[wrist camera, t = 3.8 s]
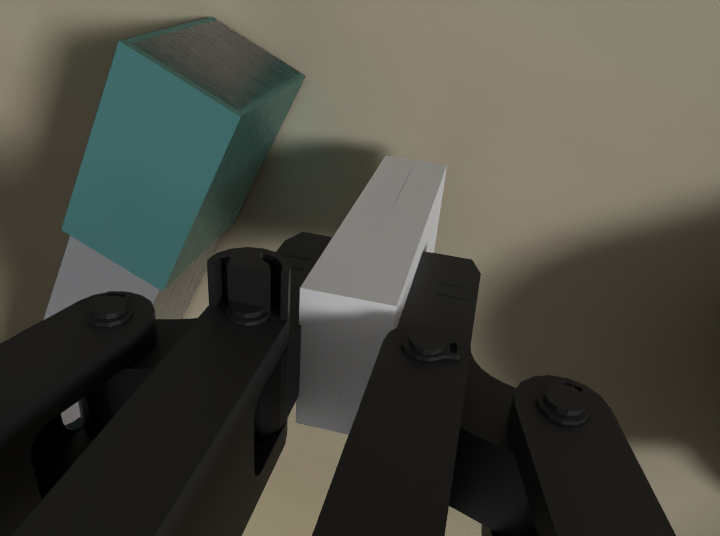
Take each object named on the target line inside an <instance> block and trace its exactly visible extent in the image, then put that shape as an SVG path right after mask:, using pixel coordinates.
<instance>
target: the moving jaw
mask: <svg viewBox="0 0 720 536" xmlns="http://www.w3.org/2000/svg"><path fill="white" fill-rule="evenodd" d="M304 78H305V75H303V74H302V73H300V72H298V71H297V70H295V69H294V68H292V67H291V66H289V65H287V64H286V63H284V62H283V61H281V60H280V59H278V58H276V57H275V56H273V55H272V54H270V53H269V52H267V51H265V50H264V49H262V48H261V47H259V46H257V45H256V44H254V43H253V42H251V41H250V40H248V39H246V38H245V37H243V36H242V35H240V34H239V33H237V32H235V31H234V30H232V29H231V28H229V27H228V26H226V25H224V24H223V23H221V22H220V21H218V20H216V19H215V18H213V17H209V18H205V19H201V20H197V21H193V22H189V23H185V24H182V25H178V26H174V27H170V28H166V29H162V30H158V31H154V32H151V33H147V34H143V35H139V36H135V37H131V38H127V39H123V40H120V41H119V42H118V45H117V48H116V52H115V55H114V58H113V62H112V65H111V68H110V71H109V75H108V78H107V81H106V85H105V88H104V91H103V94H102V98H101V101H100V104H99V107H98V111H97V114H96V117H95V121H94V124H93V127H92V130H91V134H90V137H89V140H88V144H87V147H86V150H85V153H84V157H83V160H82V163H81V167H80V170H79V173H78V176H77V180H76V183H75V186H74V189H73V193H72V196H71V199H70V203H69V206H68V209H67V212H66V216H65V219H64V222H63V226H62V229H61V230H62V231H63V232H65V233H67V234H68V235H70V238H69V241H68V244H67V247H66V250H65V253H64V257H63V260H62V263H61V266H60V269H59V272H58V275H57V279H56V282H55V285H54V288H53V291H52V294H51V298H50V301H49V304H48V307H47V310H46V313H45V317H44V320H45V319H47V318H48V317H50V316H52V315H54V314H56V313H57V312H59V311H61V310H63V309H65V308H67V307H68V306H70V305H72V304H74V303H76V302H77V301H79V300H82V299H84V298H87V297H89V296H92V295H95V294H100V293H106V292H109V291H117V292H119V291H124V292H131V293H135V294H140V295H142V296H144V297H145V298H147V299H149V300H150V301H151V302H152V304H153V307H154V309H155V317H156V319H182V317H183V315H184V313H185V311H186V308H187V306H188V304H189V302H190V300H191V298H192V296H193V294H194V292H195V290H196V288H197V286H198V284H199V282H200V280H201V278H202V275H203V273H204V271H205V269H206V267H207V259H209V258H210V257H212V255H213V253H214V251H215V249H216V247H217V245H218V242H219V240H220V238H221V236H222V234H223V233H224V232H225V231H226V230H227V229H228V228H229V227H230V226H231V225H232V224H233V223H234V221H235V219H236V217H237V215H238V213H239V211H240V209H241V207H242V205H243V203H244V201H245V199H246V197H247V195H248V193H249V191H250V188H251V186H252V184H253V182H254V180H255V178H256V176H257V174H258V172H259V170H260V168H261V166H262V164H263V162H264V160H265V158H266V156H267V154H268V152H269V150H270V148H271V146H272V144H273V142H274V140H275V138H276V136H277V133H278V131H279V129H280V127H281V125H282V123H283V121H284V119H285V117H286V115H287V113H288V111H289V109H290V107H291V105H292V103H293V101H294V99H295V97H296V95H297V93H298V91H299V89H300V87H301V85H302V83H303V80H304ZM61 416H62V420H63V423H64V425H67V424H69V423H71V422H73V421H75V420H76V419H78V418H79V417H80V416H81V415H80V409H79V404H78V402H76V403H75V404H74V405H72V406H71V407H69V408H68V409H67V410H65V411H64V412H62V413H61Z"/></svg>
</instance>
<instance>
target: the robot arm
mask: <svg viewBox="0 0 720 536" xmlns="http://www.w3.org/2000/svg"><path fill="white" fill-rule="evenodd" d="M446 169H447V165H444V164H437V163H431V162H424V161H417V160H411V159H404V158H397V157H391V156H385V157H384V159H383V161H382V162H381V164H380V165H379V167H378V168H377V170H376V171H375V173H374V174H373V176H372V178H371V179H370V181H369V182H368V184H367V185H366V187H365V188H364V190H363V191H362V193H361V194H360V196H359V198H358V199H357V201H356V202H355V204H354V205H353V207H352V208H351V210H350V211H349V213H348V215H347V216H346V218H345V219H344V221H343V222H342V224H341V225H340V227H339V228H338V230H337V232H336V233H335V235H334V236H333V237H329V236H324V235H318V234H312V233H306V232H302V233H300V234H297V235H295V236H293V237H291V238H289V239H287V240H285V241H284V243H283V244H282V245H281V246H280V248H279V249H278V250H277V251H276V252H273V251H270V250H266V249H263V248H251V247H244V248H234V249H229V250H225V251H222V252H219V253H216V254H215V255H213V256H212V257H210V258H209V259H207V272H208V292H209V306H208V307H207V308H206V309H205V310H204V312H203V313H202V314H201V315H200V316H199V317H198V318H194V319H156V317H155V309H154V307H153V304H152V302H151V301H150V300H149V299H147V298H145V297H144V296H142V295H140V294H135V293H131V292H124V291H119V292H117V291H109V292H106V293H100V294H95V295H92V296H89V297H87V298H84V299H82V300H79V301H77V302H76V303H74V304H72V305H70V306H68V307H67V308H65V309H63V310H61V311H59V312H57V313H56V314H54V315H52V316H50V317H48V318H47V319H45V320H43V321H41V322H39V323H37V324H36V325H34V326H32V327H30V328H28V329H27V330H25V331H23V332H21V333H19V334H17V335H16V336H14V337H12V338H10V339H8V340H7V341H5V342H3V343H1V344H0V536H242V534H243V532H244V530H245V528H246V525H247V523H248V521H249V519H250V517H251V515H252V513H253V511H254V509H255V506H256V504H257V502H258V500H259V498H260V496H261V494H262V492H263V490H264V488H265V485H266V483H267V481H268V479H269V477H270V475H271V473H272V471H273V469H274V466H275V464H276V462H277V460H278V458H279V456H280V454H281V452H282V450H283V447H284V445H285V442H286V437H287V418H288V416H289V414H290V412H291V410H292V408H293V406H294V404H295V402H296V423H301V424H305V425H309V426H314V427H318V428H322V429H327V430H331V431H335V432H340V433H344V434H348V435H349V436H348V438H347V441H346V444H345V447H344V449H343V452H342V455H341V457H340V460H339V463H338V466H337V468H336V471H335V474H334V477H333V479H332V482H331V485H330V488H329V490H328V493H327V496H326V499H325V501H324V504H323V507H322V510H321V512H320V515H319V518H318V521H317V523H316V526H315V529H314V531H313V534H312V536H444V535H445V528H446V521H447V514H448V507H449V506H450V507H452V508H454V509H456V510H458V511H460V512H461V513H463V514H465V515H467V516H469V517H470V518H472V519H474V520H476V521H478V522H479V523H481V524H482V536H676V535H675V533H674V531H673V529H672V527H671V525H670V523H669V521H668V519H667V517H666V515H665V513H664V511H663V509H662V507H661V506H660V504H659V502H658V500H657V498H656V496H655V494H654V492H653V490H652V488H651V486H650V484H649V482H648V480H647V478H646V476H645V474H644V472H643V470H642V469H641V467H640V465H639V463H638V461H637V459H636V457H635V455H634V453H633V451H632V449H631V447H630V445H629V443H628V441H627V439H626V437H625V435H624V433H623V432H622V430H621V428H620V426H619V424H618V422H617V420H616V418H615V416H614V414H613V412H612V410H611V409H610V407H609V406H608V405H607V403H606V402H605V401H604V400H603V398H602V397H601V396H600V395H598V394H597V393H595V392H594V391H593V390H591V389H590V388H588V387H587V386H585V385H583V384H580V383H578V382H575V381H573V380H571V379H568V378H563V377H557V376H551V375H547V376H534V377H531V378H529V379H527V380H525V381H522V382H521V383H520V384H519V386H518V387H517V388H514V387H512V386H510V385H508V384H505V383H503V382H501V381H499V380H497V379H496V378H494V377H492V376H490V375H489V374H488V373H486V372H485V371H484V370H482V369H481V368H480V366H479V365H478V364H477V363H476V362H475V360H474V358H473V356H472V354H471V346H470V344H471V337H472V330H473V324H474V317H475V310H476V303H477V296H478V289H479V282H480V275H481V274H480V272H479V270H478V269H477V267H476V265H475V264H474V262H473V261H472V260H471V259H465V258H459V257H454V256H448V255H442V254H437V253H434V249H435V242H436V235H437V229H438V222H439V215H440V209H441V202H442V195H443V189H444V182H445V175H446ZM76 402H78V404H79V409H80V415H81V416H80V417H79V418H78V419H76V420H75V421H73V422H71V423H69V424H67V425H64V423H63V420H62V416H61V413H62V412H64V411H65V410H67V409H68V408H69V407H71V406H72V405H74V404H75V403H76Z"/></svg>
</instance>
